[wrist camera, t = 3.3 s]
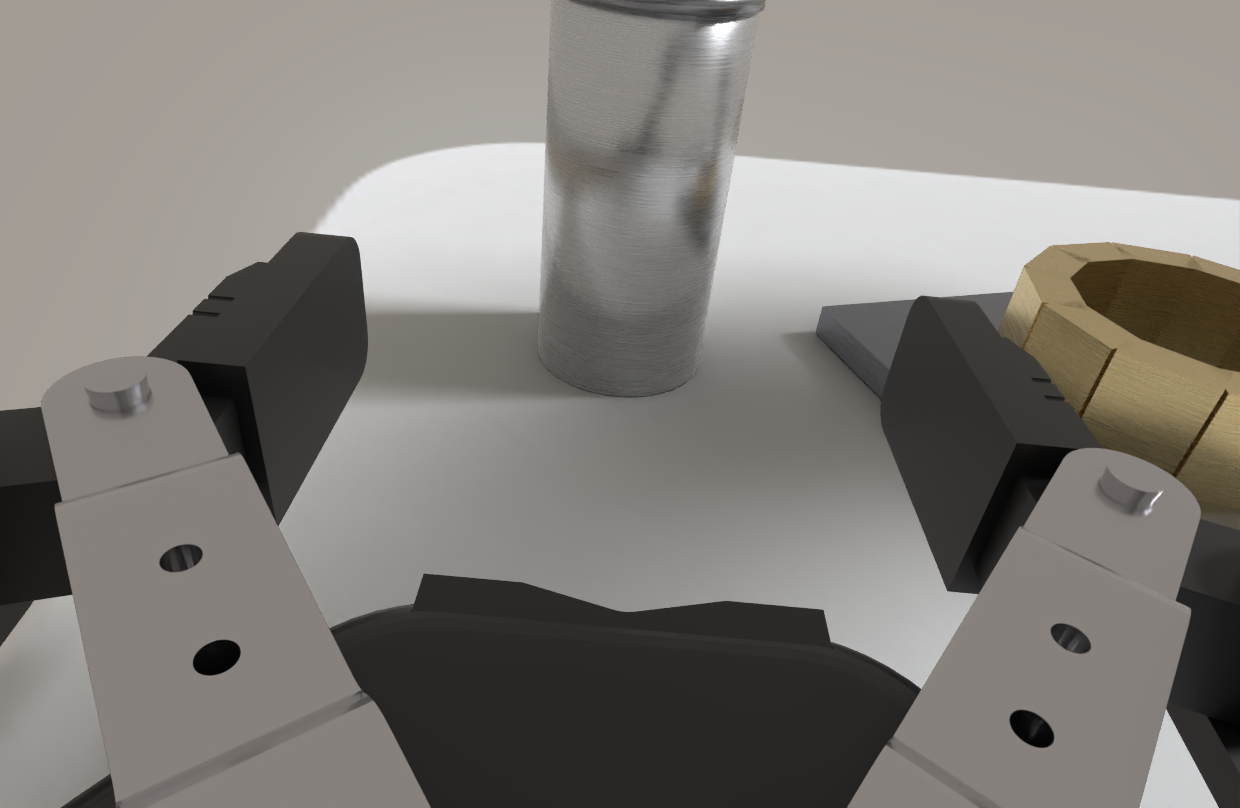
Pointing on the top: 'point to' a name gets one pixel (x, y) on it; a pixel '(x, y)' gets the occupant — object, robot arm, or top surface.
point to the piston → (637, 184)
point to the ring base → (1110, 354)
